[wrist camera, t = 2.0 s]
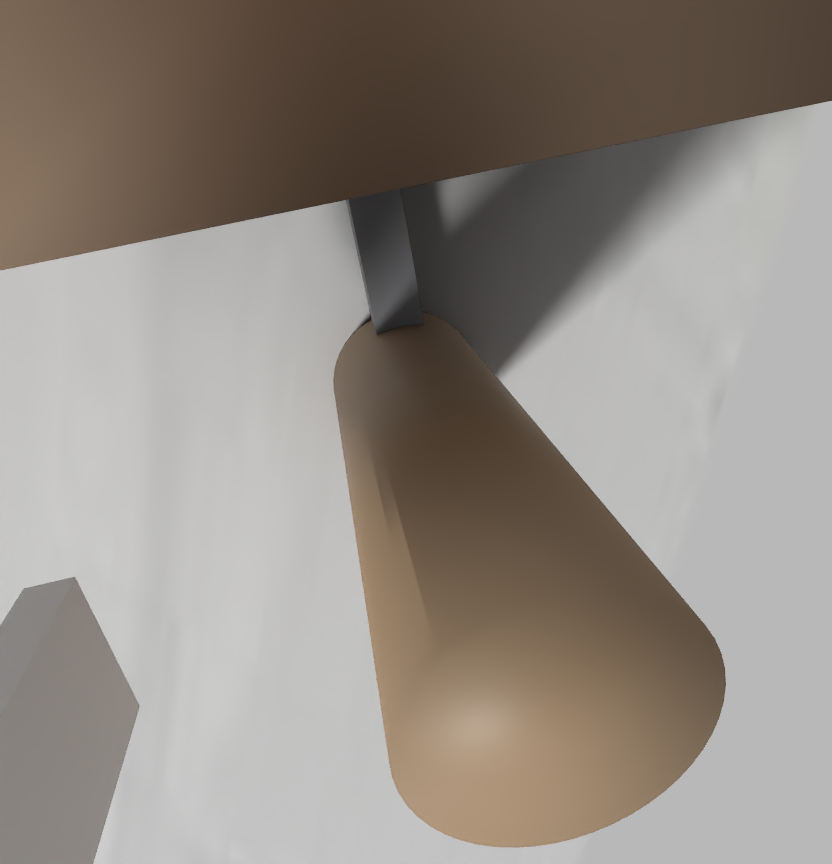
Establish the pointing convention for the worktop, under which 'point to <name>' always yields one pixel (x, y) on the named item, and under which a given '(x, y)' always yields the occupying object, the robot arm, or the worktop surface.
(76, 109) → the shelf lane
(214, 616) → the worktop surface
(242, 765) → the worktop surface
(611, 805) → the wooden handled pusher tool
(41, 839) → the robot arm
